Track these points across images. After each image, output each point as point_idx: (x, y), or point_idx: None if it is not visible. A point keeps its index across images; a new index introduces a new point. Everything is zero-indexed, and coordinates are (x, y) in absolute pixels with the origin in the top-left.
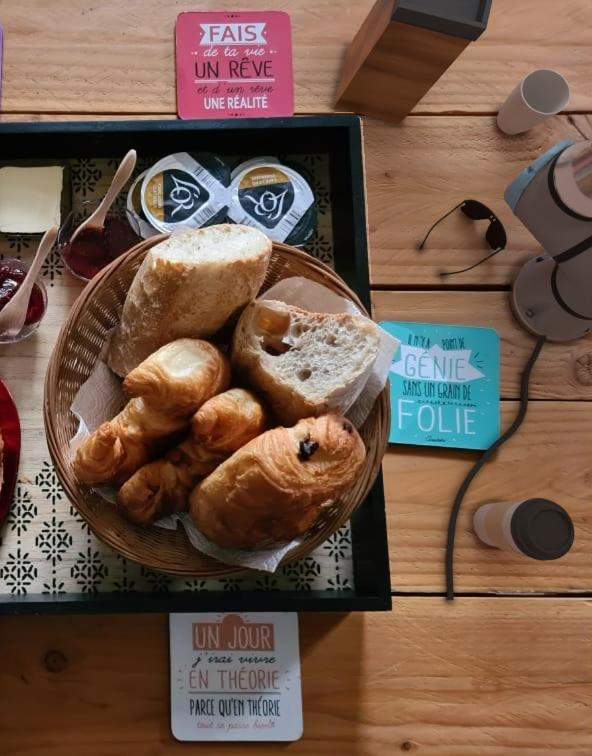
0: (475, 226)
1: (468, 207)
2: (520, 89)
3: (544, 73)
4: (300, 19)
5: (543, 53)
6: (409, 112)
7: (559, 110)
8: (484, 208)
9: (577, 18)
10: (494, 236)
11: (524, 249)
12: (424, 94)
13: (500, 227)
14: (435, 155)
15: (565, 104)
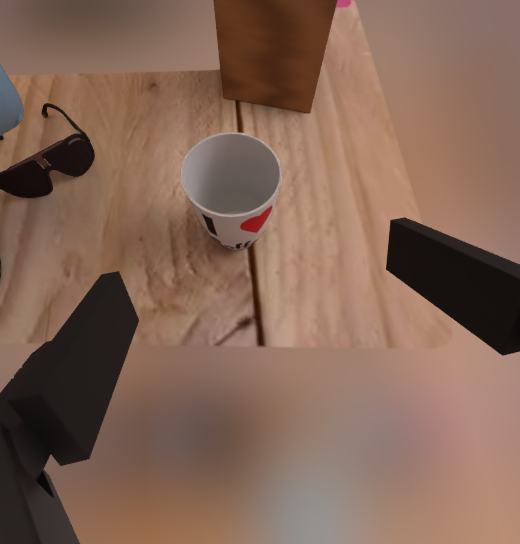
0: (69, 180)
1: (84, 153)
2: (234, 133)
3: (277, 185)
4: (345, 15)
5: (360, 280)
6: (220, 66)
7: (189, 195)
8: (59, 148)
9: (438, 338)
10: (31, 186)
11: (20, 246)
12: (214, 7)
13: (21, 168)
14: (180, 135)
15: (203, 207)
